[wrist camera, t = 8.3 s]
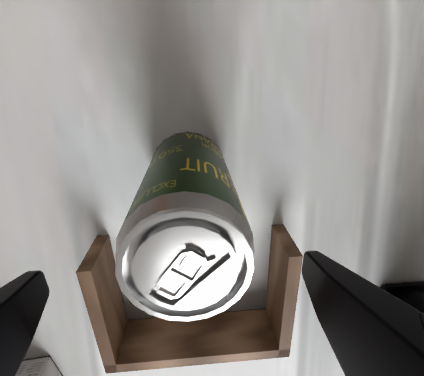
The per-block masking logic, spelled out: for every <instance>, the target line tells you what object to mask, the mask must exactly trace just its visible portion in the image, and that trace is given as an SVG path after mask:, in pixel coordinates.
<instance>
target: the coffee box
mask: <svg viewBox="0 0 424 376" xmlns="http://www.w3.org/2000/svg"><path fill="white" fill-rule="evenodd" d="M15 376H62V375H61V374H60V372H59V371H58V369H57V368H56V366H55V364H54V363H53V361H52V360H51V358H50V357H44V358H38V359H33V360H26V361H22V363H21V365H20V367H19V369H18V371H17V373H16V375H15Z"/></svg>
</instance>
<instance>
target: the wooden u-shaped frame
mask: <svg viewBox="0 0 424 376" xmlns="http://www.w3.org/2000/svg"><path fill="white" fill-rule="evenodd" d="M302 258H303V256H302V254H301V253H300V251H299V249H298V248H297V246H296V244H295V243H294V241H293V240H292V238H291V236H290V235H289V233H288V231H287V230H286V228H285V226H284V225H283V224H282V225H272V233H271V246H270V260H269V273H268V286H267V300H266V309H259V310H247V311H234V312H222V313H218V314H216V315H214V316H211V317H209V318H205V319H199V320H193V321H171V320H165V319H162V318H148V319H135V320H127V316H126V312H125V307H124V302H123V298H122V293H121V289H120V286H119V284H118V281H117V278H116V276H115V261H114V256H113V252H112V247H111V243H110V238H109V235H107V236H97V237H96V238H95V240H94V242H93V244H92V245H91V247H90V249H89V251H88V252H87V254H86V256H85V258H84V259H83V261H82V263H81V264H80V266H79V268H78V270H77V271H76V274H77V277H78V280H79V284H80V287H81V291H82V294H83V297H84V301H85V304H86V307H87V311H88V314H89V318H90V321H91V324H92V328H93V331H94V335H95V338H96V341H97V345H98V348H99V351H100V355H101V358H102V362H103V365H104V368H105V372H106V373H116V372H127V371H137V370H148V369H159V368H170V367H181V366H192V365H203V364H214V363H225V362H236V361H247V360H258V359H269V358H279V357H289V354H290V346H291V339H292V332H293V324H294V317H295V310H296V302H297V295H298V287H299V280H300V273H301V265H302Z"/></svg>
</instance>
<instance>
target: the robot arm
mask: <svg viewBox="0 0 424 376" xmlns="http://www.w3.org/2000/svg"><path fill="white" fill-rule="evenodd" d="M302 275H303V279H304V281H305V284H306V287H307V290H308V293H309V296H310V298H311V301H312V304H313V307H314V310H315V312H316V315H317V317H318V320H319V322H320V324H321V326H322V328H323V330H324V332H325V334H326V336H327V339H328V341H329V343H330V345H331V347H332V349H333V351H334V353H335V355H336V357H337V359H338V361H339V363H340V366H341V368H342V370H343V372H344V374H345V376H424V282H414V283H401V284H389V285H384V286H383V287H382V288H379V287H378V286H376V285H374V284H373V283H371V282H369V281H368V280H366V279H364V278H362V277H361V276H359V275H357V274H356V273H354V272H352V271H351V270H349V269H347V268H345V267H344V266H342V265H340V264H339V263H337V262H335V261H334V260H332V259H330V258H328V257H327V256H325V255H323V254H322V253H320V252H318V251H306V252H305V254H304V258H303V265H302ZM48 296H49V287H48V285H47V282H46V279H45V276H44V274H43V272H42V271H28V272H26V273H24V274H22V275H21V276H19V277H17V278H16V279H14V280H13V281H11V282H9V283H8V284H6V285H4V286H3V287H1V288H0V376H15V375H16V373H17V371H18V369H19V367H20V365H21V363H22V361H23V359H24V357H25V355H26V353H27V351H28V348H29V346H30V344H31V342H32V339H33V337H34V334H35V332H36V329H37V326H38V324H39V321H40V318H41V316H42V313H43V310H44V307H45V305H46V302H47V299H48Z"/></svg>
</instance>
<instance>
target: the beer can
mask: <svg viewBox="0 0 424 376" xmlns="http://www.w3.org/2000/svg"><path fill="white" fill-rule="evenodd" d="M253 255H254V243H253V234H252V231H251V228H250V226H249V223H248V221H247V218H246V215H245V213H244V210H243V208H242V205H241V202H240V200H239V197H238V195H237V192H236V189H235V187H234V184H233V182H232V179H231V176H230V174H229V171H228V169H227V166H226V163H225V161H224V158H223V156H222V154H221V152H220V150H219V148H218V146H217V145H216V144H215V143H214V142H213V141H212V140H211V139H209V138H207V137H205V136H203V135H201V134H198V133H192V132H184V133H177V134H174V135H172V136H171V137H169V138H167V139H165V140H164V141H163V142H162V143H161V144H160V145H159V146H158V147H157V150H156V152H155V154H154V156H153V159H152V161H151V163H150V165H149V167H148V170H147V172H146V174H145V176H144V178H143V181H142V183H141V185H140V187H139V190H138V192H137V194H136V196H135V198H134V201H133V203H132V205H131V207H130V210H129V212H128V214H127V216H126V218H125V221H124V223H123V225H122V227H121V230H120V232H119V234H118V236H117V238H116V264H115V276H116V278H117V281H118V284H119V286H120V289H121V291H122V293H123V294H124V295H125V296H126V297H127V298H128V299H129V300H130V302H131V303H132V304H133V305H134V306H136V307H138V308H139V309H141V310H143V311H144V312H146V313H147V314H149V315H152V316H155V317H159V318H162V319H165V320H171V321H193V320H199V319H205V318H209V317H211V316H214V315H216V314H218V313H221V312H223V311H225V310H226V309H228V308H229V307H230V306H232V305H233V304H234V303H235V302H237V301H238V300H239V299H240V298H241V297H242V295H243V294H244V292H245V291H246V290H247V288H248V287H249V285H250V282H251V279H252V275H253V272H254V262H253Z"/></svg>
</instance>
